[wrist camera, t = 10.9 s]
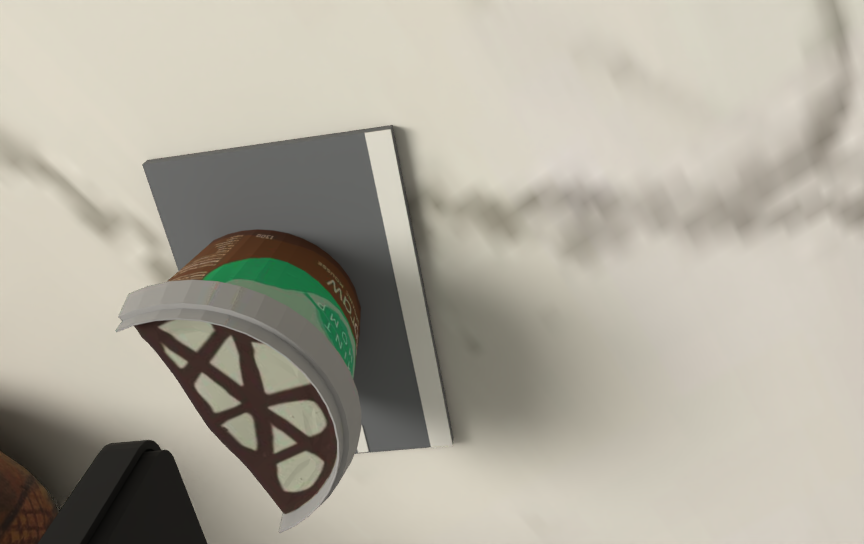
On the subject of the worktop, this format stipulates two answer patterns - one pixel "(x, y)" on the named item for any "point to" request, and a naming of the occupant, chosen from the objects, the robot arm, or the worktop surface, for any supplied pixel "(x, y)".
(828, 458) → the worktop surface
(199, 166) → the mat
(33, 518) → the jug
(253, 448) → the food container
